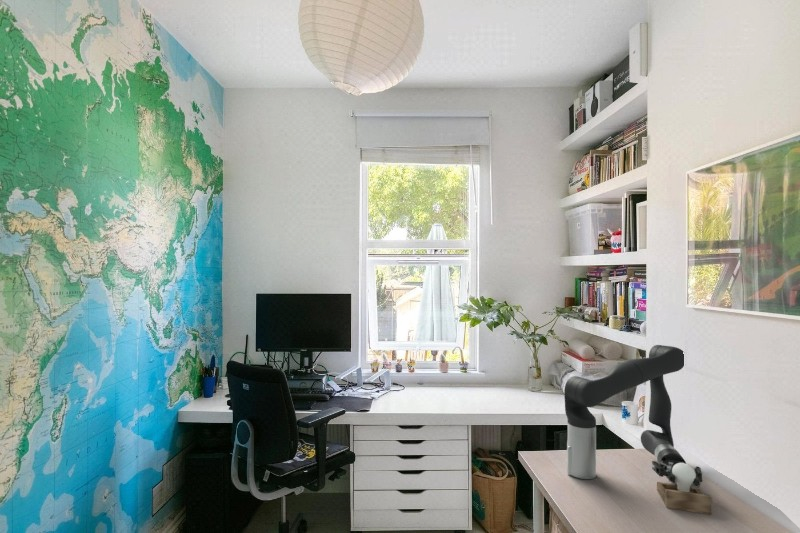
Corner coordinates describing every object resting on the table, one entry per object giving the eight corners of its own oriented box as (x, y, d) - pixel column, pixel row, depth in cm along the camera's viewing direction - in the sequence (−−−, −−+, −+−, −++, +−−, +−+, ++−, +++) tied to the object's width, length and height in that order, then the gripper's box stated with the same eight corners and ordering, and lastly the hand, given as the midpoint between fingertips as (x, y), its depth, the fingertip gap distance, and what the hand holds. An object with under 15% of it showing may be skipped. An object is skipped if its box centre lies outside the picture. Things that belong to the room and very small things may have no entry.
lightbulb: (698, 505, 130) (699, 469, 130) (676, 503, 131) (677, 467, 131) (689, 495, 136) (690, 460, 136) (667, 492, 137) (668, 458, 137)
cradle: (666, 507, 130) (666, 490, 130) (656, 489, 140) (656, 474, 141) (711, 514, 126) (711, 497, 126) (697, 495, 137) (697, 479, 137)
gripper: (645, 445, 149) (658, 465, 133) (693, 450, 145) (713, 472, 129) (645, 467, 149) (658, 490, 133) (694, 473, 145) (713, 498, 129)
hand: (685, 481), depth 131 cm, fingers closed on lightbulb, 5 cm apart
